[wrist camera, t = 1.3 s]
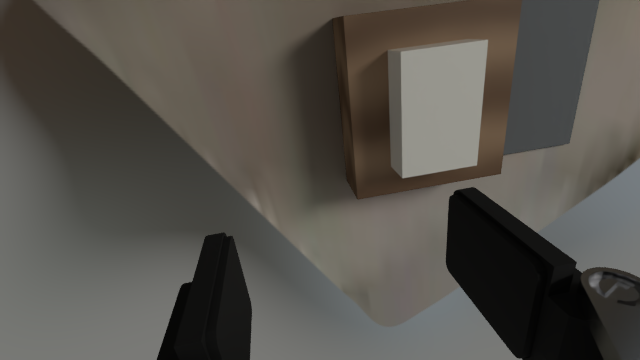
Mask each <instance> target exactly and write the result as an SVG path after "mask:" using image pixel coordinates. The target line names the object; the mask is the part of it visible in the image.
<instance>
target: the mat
mask: <svg viewBox="0 0 640 360" xmlns="http://www.w3.org/2000/svg"><path fill="white" fill-rule="evenodd" d="M598 4H599V0H522V5H521V13H520V21H519V30H518V38H517V46H516V54H515V62H514V70H513V78H512V87H511V95H510V103H509V111H508V119H507V127H506V135H505V143H504V152H503V155H505V154H511V153H516V152H522V151H528V150H534V149H540V148H545V147H551V146H557V145H563V144H568V143H570V138H571V133H572V128H573V123H574V119H575V114H576V109H577V104H578V100H579V95H580V90H581V85H582V80H583V76H584V71H585V66H586V61H587V56H588V52H589V47H590V42H591V37H592V32H593V28H594V23H595V18H596V13H597V9H598Z"/></svg>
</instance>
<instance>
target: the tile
mask: <svg viewBox="0 0 640 360" xmlns="http://www.w3.org/2000/svg"><path fill="white" fill-rule="evenodd" d="M487 47H488V40H483V39H464V40H457V41H449V42H442V43H435V44H427V45H420V46H413V47H406V48H398V49H391V50H388V79H389V115H390V150H391V167H392V168H393V169H394V170H395V171H396V172H397V173H398V174H399V175H400V176H401V177H402V178H408V177H413V176H419V175H425V174H431V173H436V172H442V171H448V170H453V169H459V168H465V167H471V166H476V165H477V160H478V148H479V137H480V126H481V115H482V104H483V92H484V81H485V70H486V59H487Z"/></svg>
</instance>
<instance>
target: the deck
mask: <svg viewBox="0 0 640 360" xmlns="http://www.w3.org/2000/svg"><path fill="white" fill-rule="evenodd" d="M521 5H522V0H468V1H460V2H452V3H444V4H436V5H428V6H420V7H412V8H404V9H396V10H388V11H380V12H372V13H364V14H357V15H349V16H342V17H337V18H332V21H333V32H334V43H335V54H336V65H337V76H338V87H339V98H340V109H341V121H342V132H343V143H344V154H345V165H346V176H347V181H348V183H349V185H350V187H351V189H352V190H353V192H354V194H355V196H356V197H357V199H363V198H368V197H374V196H379V195H385V194H391V193H396V192H402V191H407V190H413V189H419V188H424V187H430V186H435V185H441V184H447V183H452V182H458V181H463V180H469V179H475V178H480V177H486V176H491V175H497V174H501V168H502V160H503V152H504V143H505V135H506V127H507V119H508V111H509V103H510V95H511V87H512V78H513V70H514V62H515V54H516V46H517V38H518V30H519V21H520V13H521ZM464 39H483V40H488V47H487V59H486V70H485V81H484V92H483V104H482V115H481V126H480V137H479V148H478V160H477V165H476V166H471V167H465V168H459V169H453V170H448V171H442V172H436V173H431V174H425V175H419V176H413V177H408V178H402V177H401V176H400V175H399V174H398V173H397V172H396V171H395V170H394V169H393V168H392V167H391V150H390V115H389V79H388V50H391V49H398V48H406V47H413V46H420V45H427V44H435V43H442V42H449V41H457V40H464Z"/></svg>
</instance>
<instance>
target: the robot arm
mask: <svg viewBox="0 0 640 360" xmlns="http://www.w3.org/2000/svg"><path fill="white" fill-rule="evenodd" d="M446 265H447V268H448V271H449V272H450V274H451V275H452V276H453V277H454V279H455V280H456V281H457V283H458V284H459V285H460V286H461V288H462V289H463V290H464V292H465V293H466V294H467V295H468V297H469V298H470V299H471V300H472V302H473V303H474V304H475V306H476V307H477V308H478V310H479V311H480V312H481V313H482V315H483V316H484V317H485V319H486V320H487V321H488V322H489V324H490V325H491V326H492V327H493V329H494V330H495V331H496V333H497V334H498V335H499V337H500V338H501V339H502V340H503V342H504V343H505V344H506V346H507V347H508V348H509V349H510V351H511V352H512V353H513V354H514V355H515V356H516V357H517V358H522V359H523V360H640V278H639V277H637V276H635V275H633V274H630V273H628V272H624V271H621V270H618V269H612V268H606V267H604V268H603V267H596V268H590V269H587V270H586V271H584V272H583V273H581V272H580V271H579V270H577V269H576V268H575V267H576V262H575V261H574V260H573V259H572V258H570V257H569V256H568V255H566V254H565V253H563V252H562V251H561V250H559V249H558V248H557V247H555V246H554V245H552V244H551V243H550V242H548V241H547V240H546V239H544V238H543V237H541V236H540V235H539V234H538V233H536V232H535V231H533V230H532V229H531V228H529V227H528V226H527V225H525V224H524V223H523V222H521V221H520V220H518V219H517V218H516V217H514V216H513V215H512V214H510V213H509V212H507V211H506V210H505V209H503V208H502V207H501V206H499V205H498V204H497V203H495V202H494V201H492V200H491V199H490V198H488V197H487V196H486V195H484V194H483V193H482V192H480V191H479V190H477V189H476V188H474V187H471V188H466V189H460V190H456V191H455V192H454V194H453V195H452V196H450V198H449V210H448V230H447V249H446ZM251 318H252V308H251V301H250V298H249V294H248V290H247V286H246V283H245V279H244V276H243V272H242V268H241V264H240V260H239V257H238V253H237V250H236V246H235V242H234V239H233V236H228V237H227V236H226V234H225V233H219V234H213V235H208V236H206V237H205V239H204V243H203V247H202V250H201V253H200V257H199V260H198V264H197V268H196V271H195V274H194V278H193V281H192V282H189V283H184V284H183V285H182V286H181V288H180V290H179V293H178V296H177V300H176V302H175V306H174V309H173V312H172V315H171V318H170V321H169V324H168V327H167V330H166V333H165V336H164V339H163V343H162V345H161V348H160V351H159V355H158V357H157V360H250V343H251V320H252V319H251Z"/></svg>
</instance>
